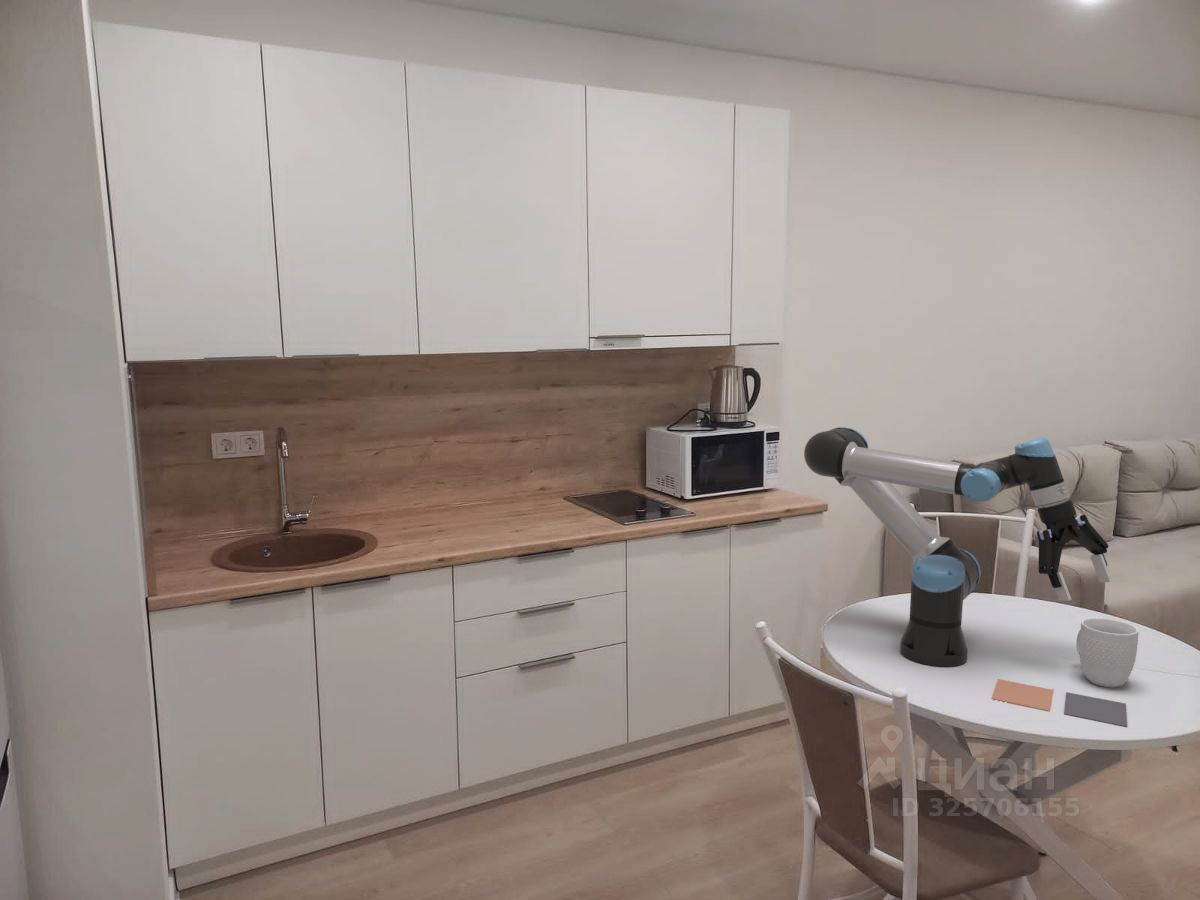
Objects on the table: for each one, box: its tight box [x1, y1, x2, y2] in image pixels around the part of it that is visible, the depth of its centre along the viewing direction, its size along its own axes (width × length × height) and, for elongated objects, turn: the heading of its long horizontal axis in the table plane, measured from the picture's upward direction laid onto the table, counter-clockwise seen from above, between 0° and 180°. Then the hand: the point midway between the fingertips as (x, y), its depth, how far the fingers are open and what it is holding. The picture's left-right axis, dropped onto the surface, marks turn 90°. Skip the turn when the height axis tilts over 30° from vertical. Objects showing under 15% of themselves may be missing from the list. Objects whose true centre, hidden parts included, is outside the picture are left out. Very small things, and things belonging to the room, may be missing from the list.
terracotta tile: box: [991, 678, 1054, 712], centre depth 180 cm, size 11×12×1 cm
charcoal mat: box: [1063, 691, 1128, 728], centre depth 174 cm, size 11×12×1 cm
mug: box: [1075, 617, 1140, 689], centre depth 188 cm, size 15×11×13 cm
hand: (1086, 591), depth 194 cm, fingers open, 13 cm apart
